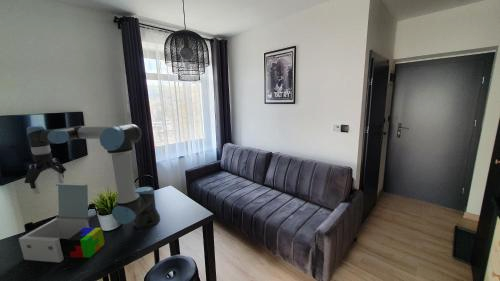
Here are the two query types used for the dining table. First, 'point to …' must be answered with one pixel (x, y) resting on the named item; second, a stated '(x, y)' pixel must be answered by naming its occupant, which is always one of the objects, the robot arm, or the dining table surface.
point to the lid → (73, 201)
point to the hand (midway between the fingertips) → (50, 188)
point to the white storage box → (50, 239)
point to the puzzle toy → (86, 242)
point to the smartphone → (91, 212)
